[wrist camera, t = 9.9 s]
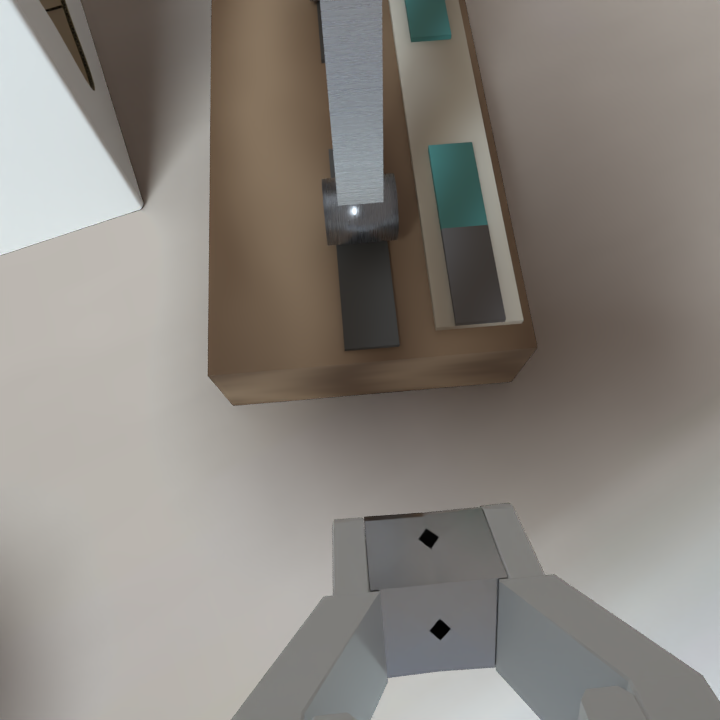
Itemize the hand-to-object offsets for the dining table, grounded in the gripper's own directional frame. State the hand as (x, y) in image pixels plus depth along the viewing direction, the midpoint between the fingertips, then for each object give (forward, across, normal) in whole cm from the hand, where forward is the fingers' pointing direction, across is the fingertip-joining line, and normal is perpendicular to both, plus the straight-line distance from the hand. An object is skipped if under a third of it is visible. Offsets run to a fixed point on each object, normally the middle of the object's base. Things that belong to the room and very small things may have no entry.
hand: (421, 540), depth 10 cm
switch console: (+22, 0, -4) cm, 23 cm away
